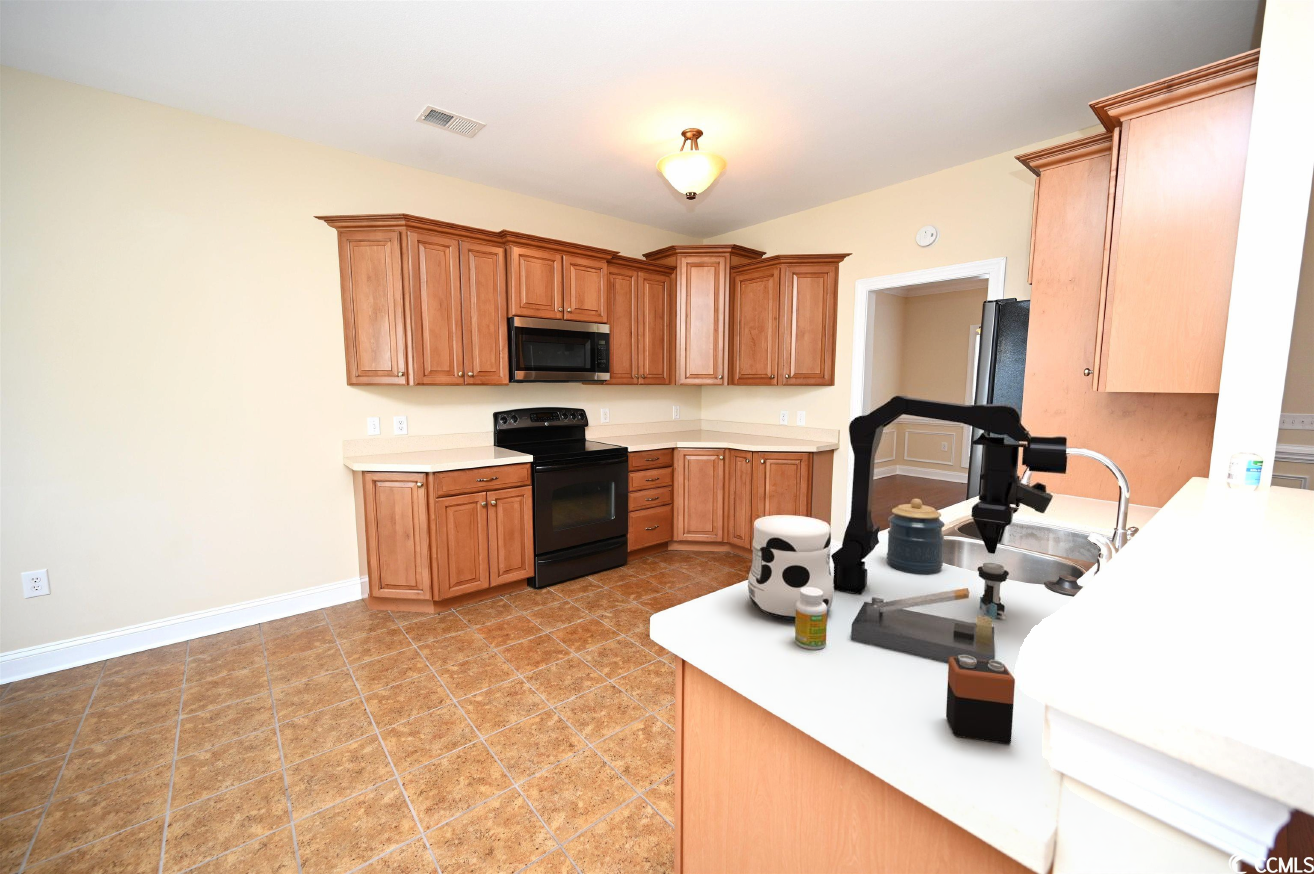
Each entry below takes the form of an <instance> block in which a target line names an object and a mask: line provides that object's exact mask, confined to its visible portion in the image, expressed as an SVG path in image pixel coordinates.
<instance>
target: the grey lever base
mask: <svg viewBox="0 0 1314 874" xmlns="http://www.w3.org/2000/svg"><path fill="white" fill-rule="evenodd" d="M875 602H878V603H881V602H885V599H884V598H880V597H876V596H875V597H874V596H872V597H871V602H869V601H864V602H863V604H862V605H861V607H860V609H859V610H858V612H857V614H856V616H855V617H854V619H853V621H852V622H851V632H850V634H851V636H850V637H851V638H850V640H851V641H854V642H858V643H863V644H866V645H870V646H875V647H879V648H883V649H887V650H893V651H897V652H900V653H905V654H909V655H913V656H918V657H921V658H925V659H930V660H934V661H938V662H942V663H947V664H949V658H950V657H958V656H959V655H968V656H971V657H974V658H975V659H976V660H985V661H990V660H996V655H995V654H996V652H995V650H996V647H995V645H996V644H995V626H993V618H992V617H991V618H990V617H986V616H979V615H976V623H974V622H970V621H967V620H966V621H965V620H961V619H955V618H951V617H945V616H941V615H934V614H930V613H923V612H920V611H915V610H914V611H913V610H910V609H906V608H904V609H897V610H891V611H885V612H880V607H875V606H873V604H874V603H875Z"/></svg>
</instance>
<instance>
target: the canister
mask: <svg viewBox="0 0 1314 874" xmlns="http://www.w3.org/2000/svg"><path fill="white" fill-rule="evenodd" d="M891 512H892V513H893V514H892V515H890V516H889V517H888V518H887V520H888V522H889V529H887V535H888V536H887V551H886V559H887V564H888V565H889V567H891V568H893V569H896V570H898V571H902V572H904V573H905V572H906V573H912V574H918V575H919V574H920V575H931V574H937V573H940V572H941V571H942V568H943V566H944V563H943V561H944V560H943V550H944V540H945V537H944V535H943V528H944V527H945V525H946V524H945V522H944V521H943V520H941V519H940V517H942V513H941V512H939V510H936V508H935V507H932V506H929V505H924V504H923V501H922V500H921V499H919V498H913V499H912V500H911V501H910V503H905V504H904V503H903V504H899V505H897V506H896V507H894V508H892V510H891Z"/></svg>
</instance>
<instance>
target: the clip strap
mask: <svg viewBox="0 0 1314 874" xmlns="http://www.w3.org/2000/svg"><path fill="white" fill-rule="evenodd" d="M969 598H970V591H969V588H968V587H965V588H959V589H953V590H948V591H941V592H935V593H929V594H923V595H918V596H911V597H906V598H899V599H894V600H888V601H884V602H881V603H878V602H875V603H874V604H873V606H875V607H880V612H885V611H891V610H897V609H909V608H916V607H923V606H927V605H928V606H929V605H934V604H935V605H936V604H940V603H946V602H954V601H959V600H966V599H969Z"/></svg>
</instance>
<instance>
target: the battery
mask: <svg viewBox="0 0 1314 874" xmlns="http://www.w3.org/2000/svg"><path fill="white" fill-rule="evenodd" d="M947 666H948V667H947V688H946V710H945V717H946V720H947V722H948V724H949V727H950V729H951V732H952V734H953V735H954V736H956V737H958V738H959V737H960V738H966V739H972V740H973V739H974V740H980V741H985V742H986V741H987V742H993V743H999V744H1006V745H1007V744H1008V745H1010V744H1011V743H1012V734H1013V719H1014V701H1015V684H1016V679H1015V677H1014V676H1013V675H1012V673H1011V671H1009V669H1008V667H1007V666H1006V665H1005V663H1003V662H1001V660H1000V661H999V660H997V659H995V660H990V661H985V660H976V659H975V658H974V657H971V656H968V655H959V656H958V657H950V658H949V663H947Z"/></svg>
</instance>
